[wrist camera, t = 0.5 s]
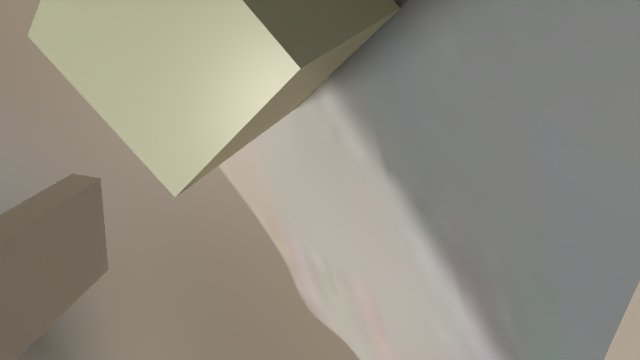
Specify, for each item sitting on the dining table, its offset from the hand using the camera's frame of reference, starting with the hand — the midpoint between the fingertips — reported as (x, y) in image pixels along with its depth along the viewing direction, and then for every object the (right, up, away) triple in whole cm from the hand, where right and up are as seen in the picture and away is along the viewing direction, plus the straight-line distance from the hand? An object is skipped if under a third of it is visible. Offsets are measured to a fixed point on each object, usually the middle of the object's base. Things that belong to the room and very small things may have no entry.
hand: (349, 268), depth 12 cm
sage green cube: (-3, +13, +17) cm, 22 cm away
